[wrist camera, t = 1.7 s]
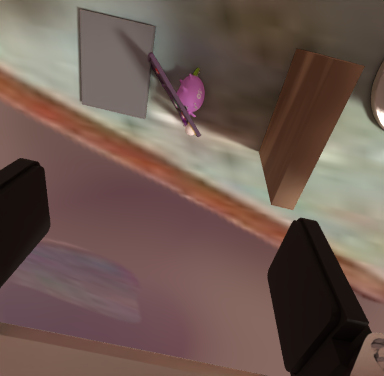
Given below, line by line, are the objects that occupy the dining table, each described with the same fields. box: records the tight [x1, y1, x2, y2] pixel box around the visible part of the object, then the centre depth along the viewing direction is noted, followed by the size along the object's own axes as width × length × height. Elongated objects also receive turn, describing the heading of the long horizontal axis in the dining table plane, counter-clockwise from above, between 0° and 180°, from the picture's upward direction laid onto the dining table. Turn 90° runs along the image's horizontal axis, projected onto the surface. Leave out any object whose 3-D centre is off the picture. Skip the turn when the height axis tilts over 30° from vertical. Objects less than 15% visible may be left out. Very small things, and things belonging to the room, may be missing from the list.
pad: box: [80, 9, 155, 119], centre depth 31 cm, size 8×10×1 cm
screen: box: [259, 49, 365, 210], centre depth 26 cm, size 2×12×12 cm, turn 168°
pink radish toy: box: [148, 52, 205, 137], centre depth 29 cm, size 7×5×9 cm
